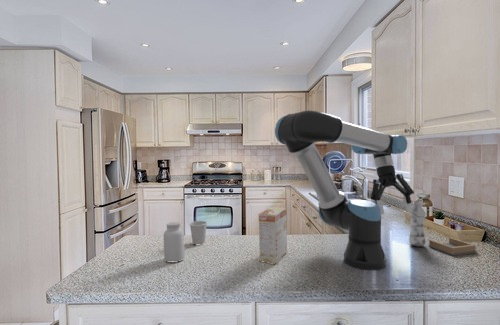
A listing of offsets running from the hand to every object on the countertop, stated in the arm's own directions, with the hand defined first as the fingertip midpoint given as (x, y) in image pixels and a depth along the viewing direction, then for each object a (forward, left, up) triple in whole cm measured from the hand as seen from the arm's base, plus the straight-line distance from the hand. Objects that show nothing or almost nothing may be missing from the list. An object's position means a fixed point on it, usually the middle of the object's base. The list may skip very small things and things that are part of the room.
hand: (394, 213), depth 123 cm
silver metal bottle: (+11, -1, -16) cm, 19 cm away
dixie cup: (-84, +32, -16) cm, 91 cm away
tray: (+21, -9, -15) cm, 27 cm away
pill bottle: (-95, +14, -16) cm, 97 cm away
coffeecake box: (-55, +5, -16) cm, 57 cm away
